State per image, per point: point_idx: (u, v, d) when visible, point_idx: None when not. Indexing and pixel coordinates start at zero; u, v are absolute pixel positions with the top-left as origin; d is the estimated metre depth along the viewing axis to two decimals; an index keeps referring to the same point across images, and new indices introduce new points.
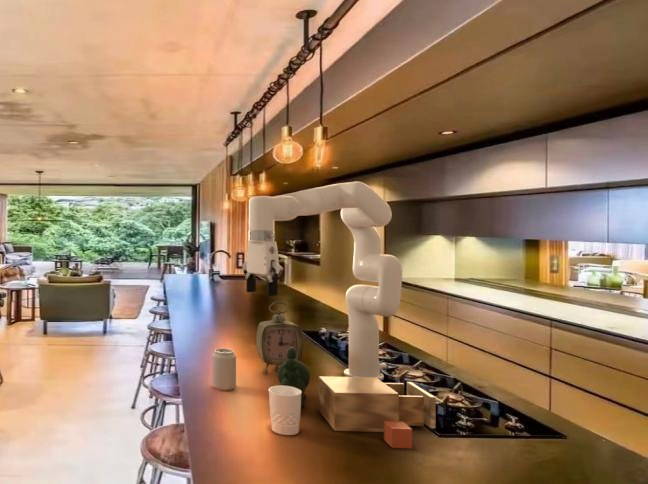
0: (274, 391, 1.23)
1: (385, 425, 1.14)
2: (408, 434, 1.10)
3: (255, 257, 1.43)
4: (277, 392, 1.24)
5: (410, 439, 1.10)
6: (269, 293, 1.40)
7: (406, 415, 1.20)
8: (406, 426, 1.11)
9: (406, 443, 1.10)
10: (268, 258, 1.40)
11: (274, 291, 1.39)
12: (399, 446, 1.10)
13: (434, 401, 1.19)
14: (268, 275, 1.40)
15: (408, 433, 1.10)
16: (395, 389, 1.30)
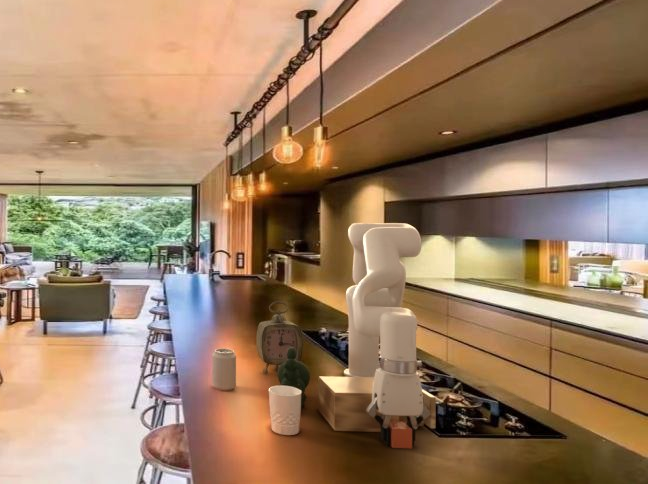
0: (274, 391, 1.23)
1: None
2: (408, 434, 1.10)
3: (403, 395, 1.10)
4: (277, 392, 1.24)
5: (410, 439, 1.10)
6: None
7: None
8: (406, 426, 1.11)
9: (406, 443, 1.10)
10: None
11: None
12: (399, 446, 1.10)
13: (434, 401, 1.19)
14: (414, 419, 1.11)
15: (408, 433, 1.10)
16: None
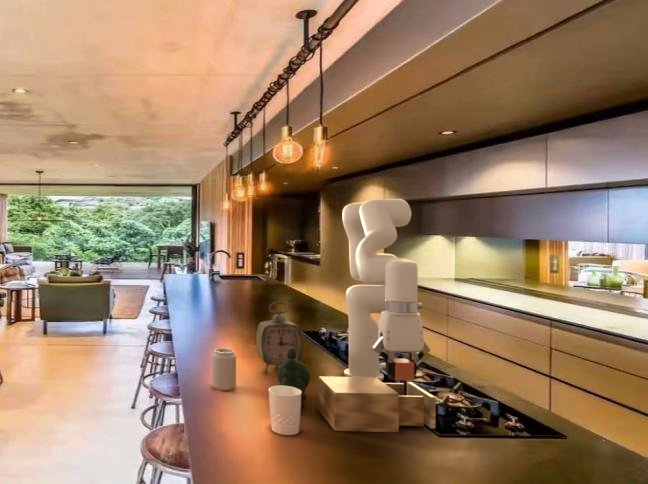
0: (274, 391, 1.23)
1: None
2: (410, 367, 1.23)
3: (406, 332, 1.23)
4: (277, 392, 1.24)
5: (412, 372, 1.23)
6: None
7: (406, 415, 1.20)
8: (409, 361, 1.25)
9: (408, 375, 1.23)
10: (422, 332, 1.24)
11: None
12: (402, 378, 1.23)
13: (434, 401, 1.19)
14: (415, 354, 1.24)
15: (410, 366, 1.23)
16: (395, 389, 1.30)
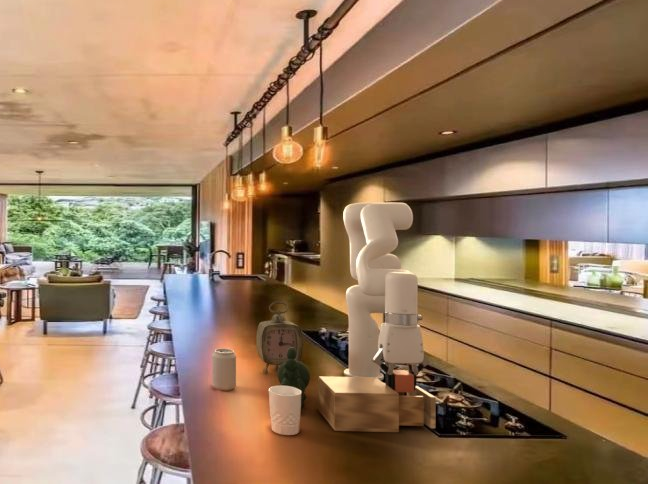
0: (274, 391, 1.23)
1: None
2: (410, 379, 1.23)
3: (406, 344, 1.23)
4: (277, 392, 1.24)
5: (412, 384, 1.23)
6: None
7: (406, 415, 1.20)
8: (408, 373, 1.25)
9: (408, 387, 1.23)
10: (422, 344, 1.24)
11: None
12: (402, 390, 1.23)
13: (434, 401, 1.19)
14: (415, 366, 1.24)
15: (410, 379, 1.23)
16: None
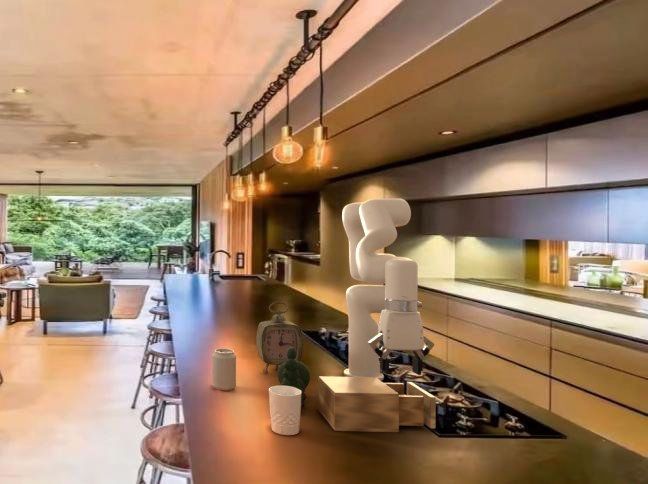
0: (274, 391, 1.23)
1: None
2: None
3: (406, 331, 1.23)
4: (277, 392, 1.24)
5: None
6: None
7: (406, 415, 1.20)
8: None
9: None
10: (422, 331, 1.24)
11: None
12: None
13: (434, 401, 1.19)
14: (419, 351, 1.24)
15: None
16: (395, 389, 1.30)
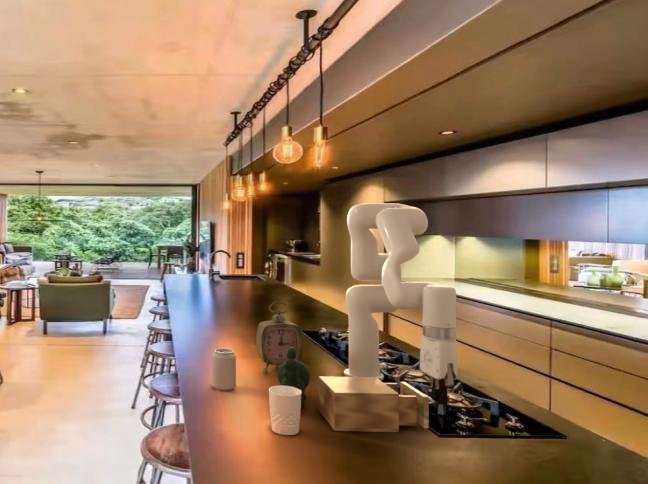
0: (274, 391, 1.23)
1: None
2: None
3: None
4: (277, 392, 1.24)
5: None
6: None
7: (399, 415, 1.20)
8: None
9: None
10: None
11: None
12: None
13: (427, 401, 1.19)
14: None
15: None
16: None
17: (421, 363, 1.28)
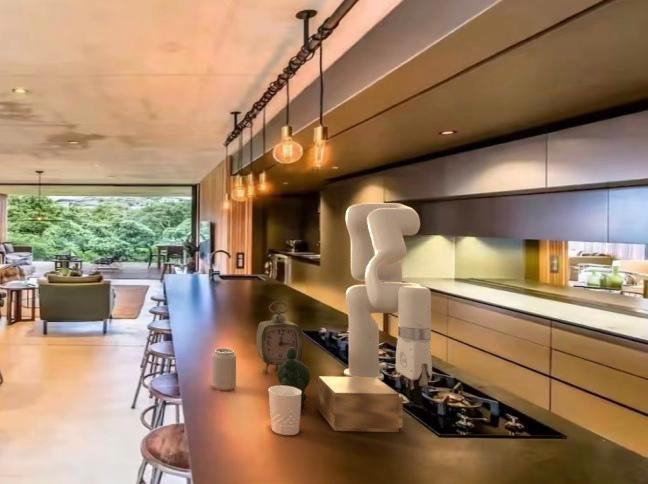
0: (274, 391, 1.23)
1: None
2: None
3: None
4: (277, 392, 1.24)
5: None
6: None
7: None
8: None
9: None
10: None
11: None
12: None
13: (401, 400, 1.19)
14: None
15: None
16: None
17: (397, 363, 1.29)
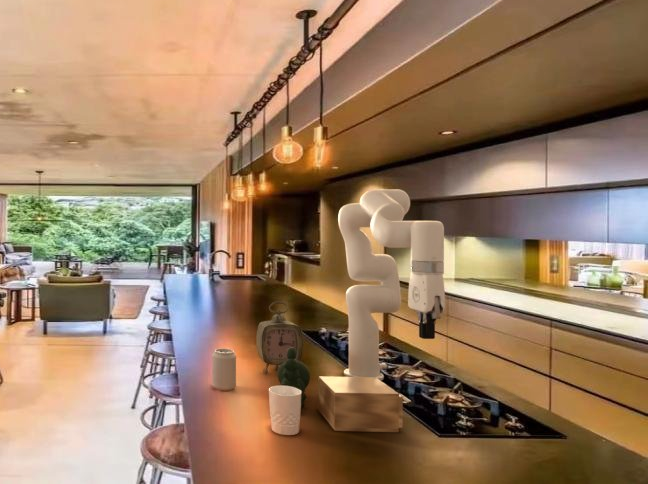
0: (274, 391, 1.23)
1: None
2: None
3: None
4: (277, 392, 1.24)
5: None
6: None
7: None
8: None
9: None
10: None
11: None
12: None
13: (401, 400, 1.19)
14: None
15: None
16: None
17: (409, 300, 1.29)
